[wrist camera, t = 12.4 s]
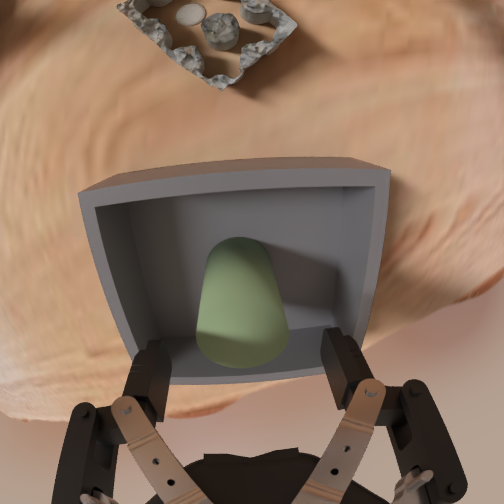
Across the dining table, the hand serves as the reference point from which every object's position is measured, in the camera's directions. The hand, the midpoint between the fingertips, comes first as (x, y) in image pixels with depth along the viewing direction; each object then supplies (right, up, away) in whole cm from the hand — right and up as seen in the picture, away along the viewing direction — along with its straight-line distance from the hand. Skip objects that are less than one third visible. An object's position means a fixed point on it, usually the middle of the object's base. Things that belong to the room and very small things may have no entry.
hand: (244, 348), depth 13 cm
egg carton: (-3, +21, +2) cm, 22 cm away
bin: (-1, +4, +9) cm, 10 cm away
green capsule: (-1, +4, +8) cm, 9 cm away
